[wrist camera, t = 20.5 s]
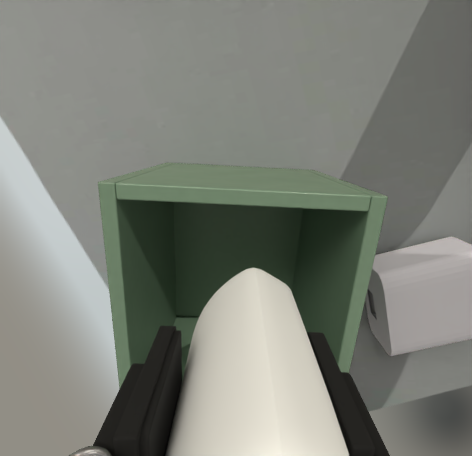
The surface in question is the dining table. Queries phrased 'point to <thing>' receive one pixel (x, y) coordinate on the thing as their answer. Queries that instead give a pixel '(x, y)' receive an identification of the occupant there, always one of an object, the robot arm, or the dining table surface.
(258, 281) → the eye dropper bottle
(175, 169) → the bin
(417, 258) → the charger
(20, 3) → the dining table surface
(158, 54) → the dining table surface
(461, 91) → the dining table surface
